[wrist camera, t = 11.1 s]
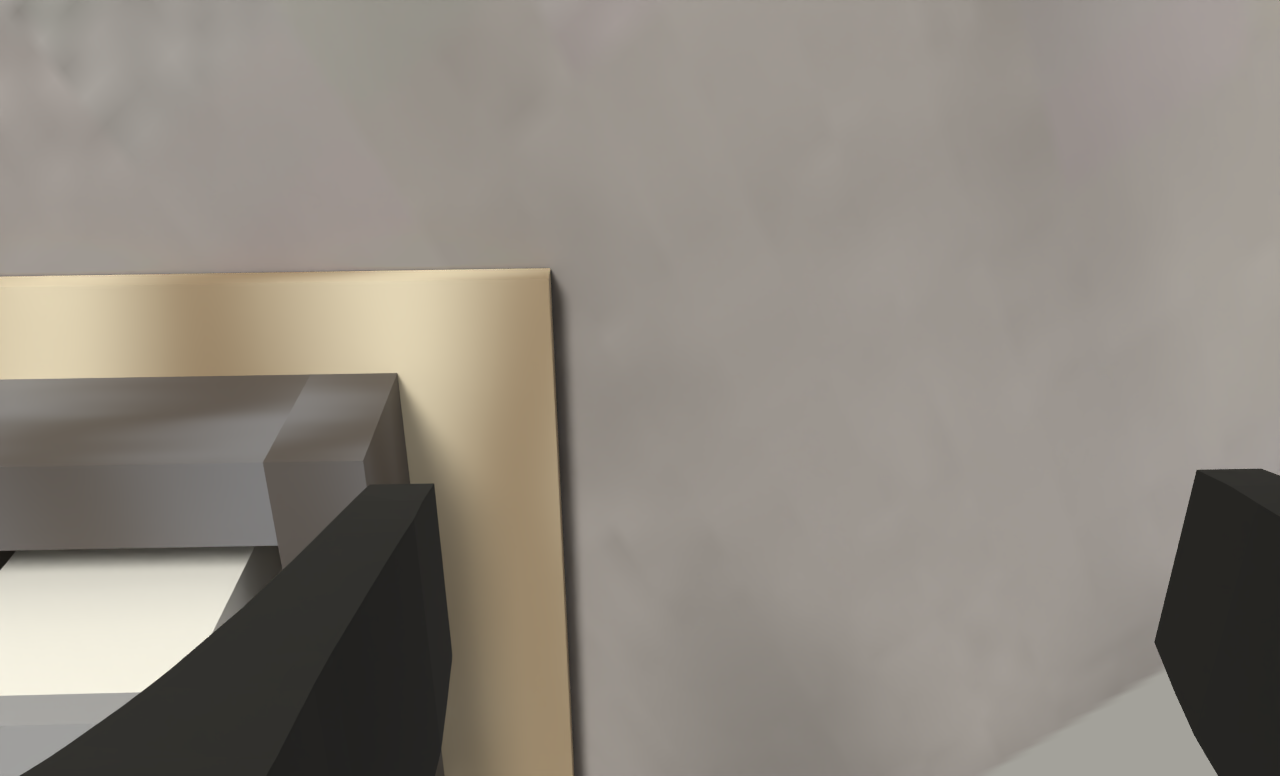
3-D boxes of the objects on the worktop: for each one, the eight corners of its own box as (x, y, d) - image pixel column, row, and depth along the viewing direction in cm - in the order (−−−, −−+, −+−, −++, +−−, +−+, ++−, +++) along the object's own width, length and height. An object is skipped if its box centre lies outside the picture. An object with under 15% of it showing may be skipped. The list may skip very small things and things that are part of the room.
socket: (550, 268, 19) (537, 355, 16) (576, 817, 25) (570, 958, 22) (-278, 280, 19) (-449, 371, 16) (-58, 830, 25) (-154, 975, 22)
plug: (283, 487, 21) (168, 722, 15) (322, 698, 23) (233, 967, 18) (63, 492, 21) (-129, 728, 15) (124, 703, 23) (-26, 973, 18)
